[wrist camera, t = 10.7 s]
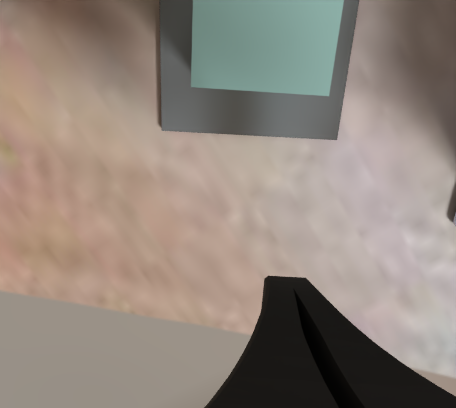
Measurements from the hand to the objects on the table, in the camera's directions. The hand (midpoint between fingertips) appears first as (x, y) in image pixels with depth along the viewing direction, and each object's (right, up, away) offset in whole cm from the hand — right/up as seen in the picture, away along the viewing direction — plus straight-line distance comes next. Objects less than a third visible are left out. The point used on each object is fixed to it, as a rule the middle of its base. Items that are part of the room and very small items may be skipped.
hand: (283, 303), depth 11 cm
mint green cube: (0, +12, +6) cm, 14 cm away
